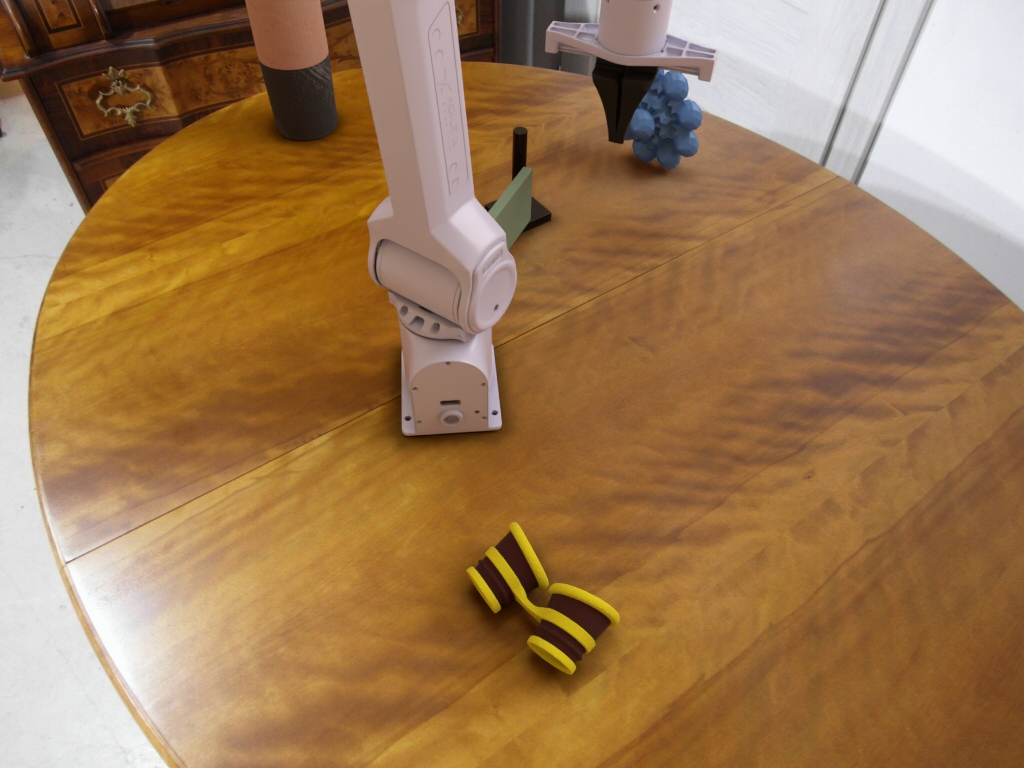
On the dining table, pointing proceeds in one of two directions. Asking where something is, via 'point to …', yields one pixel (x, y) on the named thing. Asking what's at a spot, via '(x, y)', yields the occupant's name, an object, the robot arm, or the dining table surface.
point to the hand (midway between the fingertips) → (618, 137)
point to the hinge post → (518, 162)
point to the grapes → (665, 122)
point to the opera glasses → (562, 622)
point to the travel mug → (295, 66)
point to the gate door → (514, 206)
